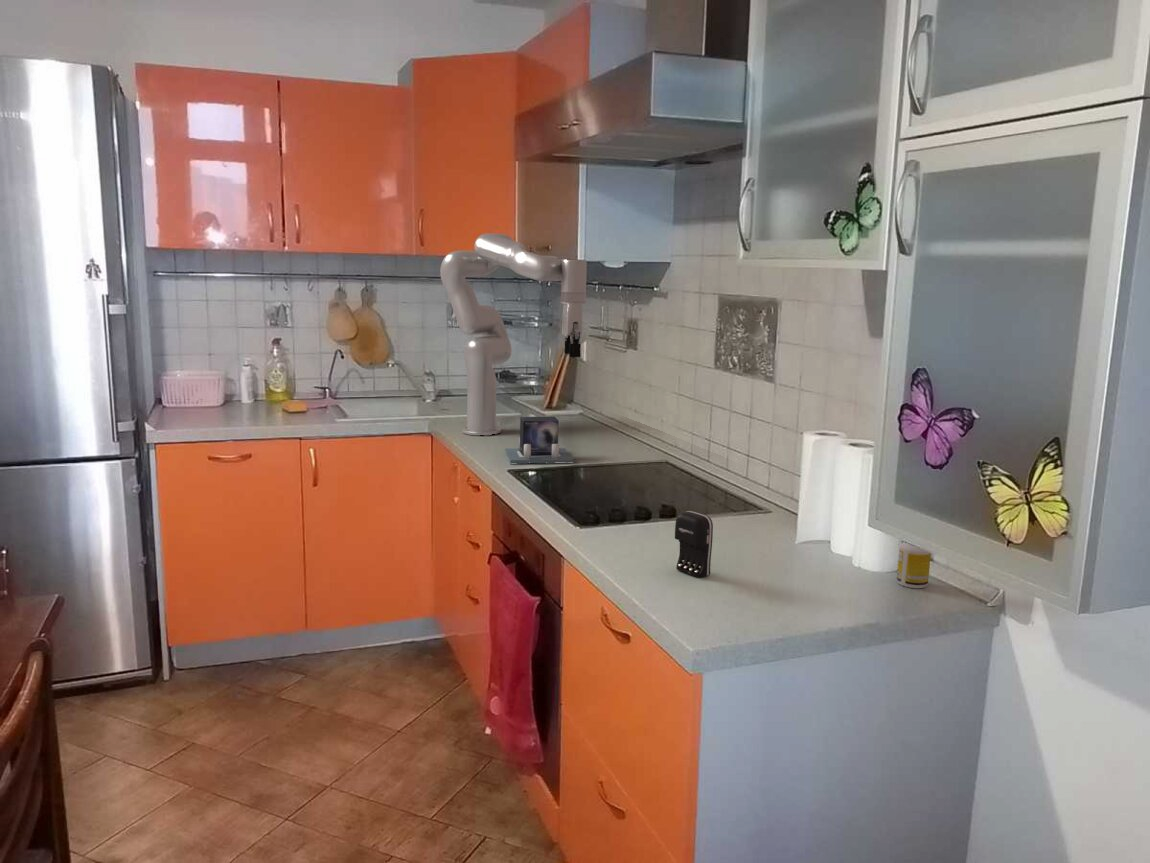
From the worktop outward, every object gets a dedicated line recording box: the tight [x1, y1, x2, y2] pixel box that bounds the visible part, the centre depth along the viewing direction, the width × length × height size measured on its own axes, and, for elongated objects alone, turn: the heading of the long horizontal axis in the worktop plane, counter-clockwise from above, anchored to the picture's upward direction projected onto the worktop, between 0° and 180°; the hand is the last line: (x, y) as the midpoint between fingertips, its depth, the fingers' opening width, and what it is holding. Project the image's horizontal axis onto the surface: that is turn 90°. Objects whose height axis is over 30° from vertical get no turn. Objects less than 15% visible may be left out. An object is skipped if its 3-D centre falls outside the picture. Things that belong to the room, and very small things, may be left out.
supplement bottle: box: [896, 541, 932, 590], centre depth 165 cm, size 5×5×10 cm
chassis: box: [504, 435, 574, 464], centre depth 264 cm, size 16×18×5 cm
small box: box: [519, 416, 559, 456], centre depth 263 cm, size 11×6×10 cm, turn 102°
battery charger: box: [674, 510, 714, 578], centre depth 168 cm, size 7×4×11 cm, turn 40°
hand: (572, 355), depth 277 cm, fingers open, 9 cm apart
